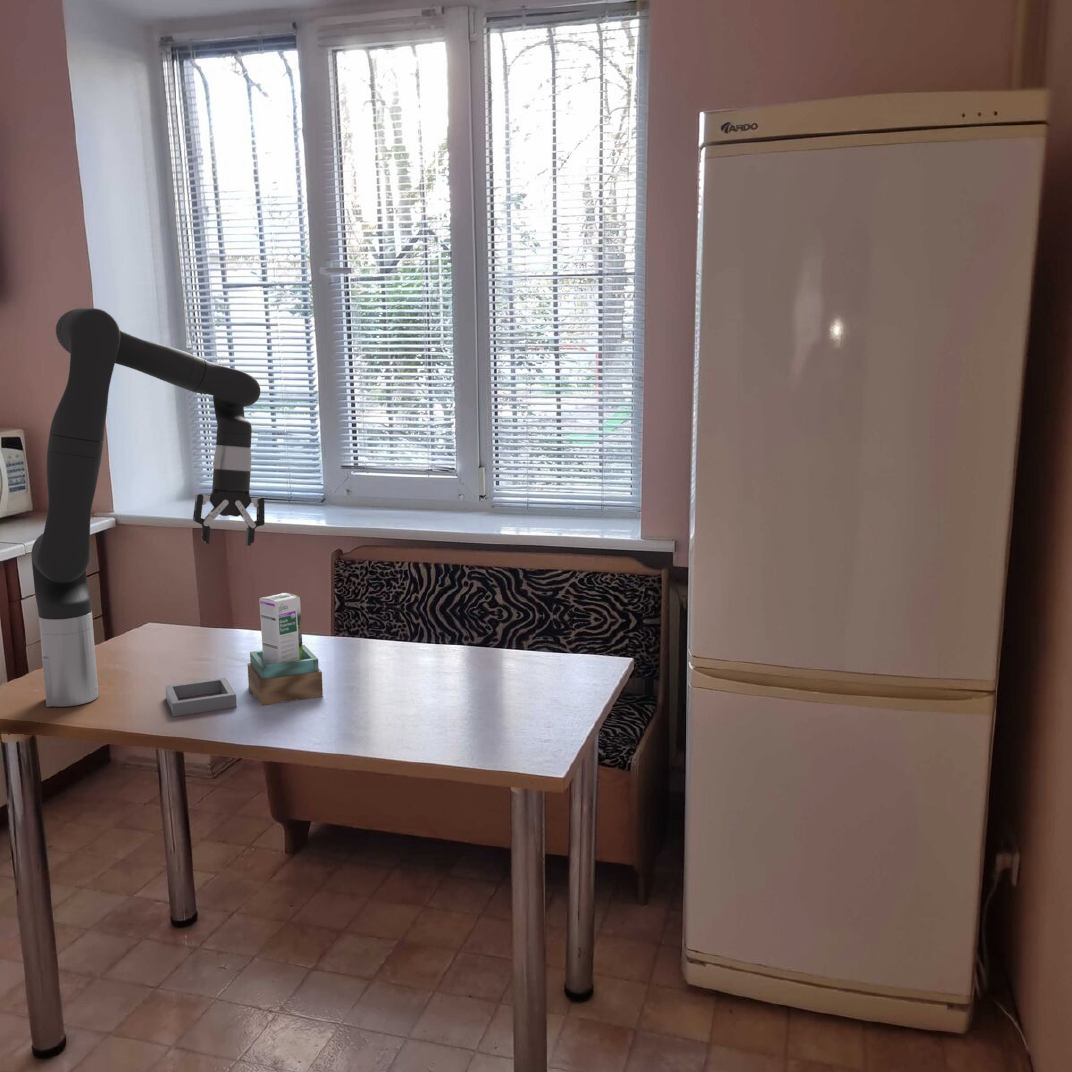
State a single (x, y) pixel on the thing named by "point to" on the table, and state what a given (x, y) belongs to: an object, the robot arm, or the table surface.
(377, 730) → the table surface
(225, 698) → the low ring
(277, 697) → the raised dock
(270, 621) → the syrup box
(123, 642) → the table surface
